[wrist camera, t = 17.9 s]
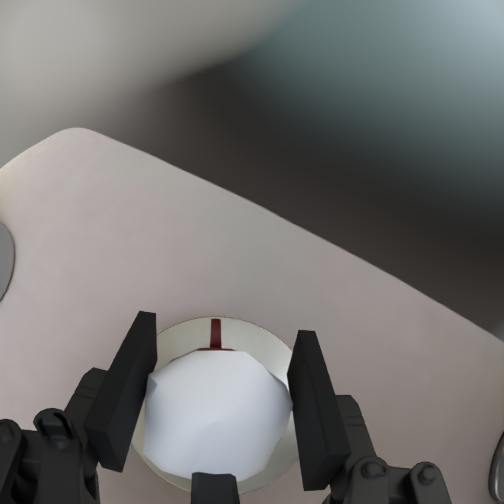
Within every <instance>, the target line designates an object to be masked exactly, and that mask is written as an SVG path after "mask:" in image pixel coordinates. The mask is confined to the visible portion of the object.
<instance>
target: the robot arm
mask: <svg viewBox="0 0 504 504" xmlns="http://www.w3.org/2000/svg"><path fill="white" fill-rule="evenodd" d="M157 360H158V356H157V334H156V313H150V312H144V311H139V313H138V315H137V317H136V318H135V320H134V322H133V324H132V326H131V328H130V330H129V331H128V333H127V335H126V337H125V339H124V341H123V343H122V345H121V347H120V349H119V351H118V352H117V354H116V356H115V358H114V360H113V362H112V364H111V366H110V368H109V370H108V371H106V370H102V369H98V368H94V367H93V368H92V369H91V370H89V371H88V372H87V373H85V374H84V375H83V377H82V379H81V381H80V383H79V386H77V388H76V390H75V392H74V394H73V395H72V397H71V399H70V401H69V403H68V405H67V407H66V408H65V410H64V411H62V410H60V409H56V408H48V409H45V410H42V411H40V412H39V413H38V414H37V415H36V416H35V418H34V421H33V423H34V425H35V427H36V429H37V430H38V431H32V430H22V429H21V428H20V427H19V425H18V424H17V423H16V422H14V421H13V420H9V419H2V420H0V504H100V495H99V484H98V475H97V471H96V467H97V464H98V461H99V462H100V464H101V466H102V467H103V468H106V469H109V470H113V471H117V472H120V473H122V471H123V467H124V464H125V460H126V457H127V454H128V450H129V447H130V443H131V440H132V437H133V434H134V430H135V427H136V424H137V421H138V417H139V414H140V411H141V408H142V405H143V402H144V399H145V396H146V388H147V380H148V374H150V373H152V372H154V369H155V366H156V363H157ZM287 380H288V387H289V393H290V397H291V399H292V402H293V409H292V413H293V419H294V426H295V433H296V439H297V446H298V453H299V460H300V467H301V474H302V481H303V488H304V491H314V490H324V489H325V488H326V487H327V486H328V485H329V484H330V489H331V493H330V494H329V495H328V496H327V497H326V498H325V500H324V501H323V502H322V504H452V503H451V500H450V497H449V493H448V490H447V487H446V484H445V481H444V479H443V476H442V473H441V471H440V469H439V468H438V467H437V466H436V465H435V464H433V463H430V462H420V463H417V464H416V465H415V466H414V467H413V468H412V469H409V468H399V467H392V466H389V465H387V463H386V462H385V461H384V460H383V459H381V458H380V457H377V455H376V453H375V451H374V448H373V445H372V442H371V439H370V436H369V433H368V430H367V427H366V425H365V424H364V423H365V422H364V419H363V416H362V413H361V411H360V408H359V405H358V403H357V402H356V401H355V400H354V399H353V398H352V397H351V395H335V393H334V390H333V386H332V383H331V380H330V377H329V374H328V370H327V367H326V364H325V361H324V358H323V355H322V351H321V348H320V345H319V342H318V339H317V336H316V333H315V331H307V330H298V334H297V338H296V342H295V345H294V349H293V353H292V356H291V360H290V363H289V367H288V370H287ZM490 493H491V496H492V497H493V499H494V500H496V501H498V502H503V503H504V434H503V436H502V438H501V440H500V442H499V445H498V447H497V450H496V453H495V456H494V459H493V463H492V467H491V473H490Z"/></svg>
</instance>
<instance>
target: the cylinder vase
mask: <svg viewBox="0 0 504 504" xmlns="http://www.w3.org/2000/svg"><path fill="white" fill-rule="evenodd" d="M13 263H14V246H13V241H12V237H11V235H10V232H9V231H8V229H7V228H6V226H5V225H4V224H3V223H2V222H1V221H0V299H1V298H2V296H3V294H4V293H5V291H6V288H7V286H8V284H9V281H10V278H11V274H12V270H13Z"/></svg>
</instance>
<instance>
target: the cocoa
mask: <svg viewBox="0 0 504 504" xmlns="http://www.w3.org/2000/svg"><path fill="white" fill-rule="evenodd" d="M292 409H293V402H292V399H291V397H290V394H289V392H288V389H287V387H286V385H285V384H284V383H283V382H282V381H281V380H279V379H278V378H277V377H275V376H274V375H273V374H272V373H270V372H269V371H268V370H267V369H266V368H265V367H264V366H263V365H262V364H261V363H260V362H259V361H257V360H256V359H254V358H253V357H252V356H250V355H249V354H248V353H247V352H245V351H235V350H233V349H228V348H222V343H221V319H217V318H213V319H211V337H210V348H199V349H196V350H194V351H192V352H189V353H187V354H185V355H182V356H180V357H177V358H175V359H173V360H171V361H170V362H169V363H168V365H166V366H164V367H162V368H160V369H158V370H156V371H154V372H152V373H150V374H148V380H147V388H146V396H145V417H144V441H143V454H144V455H145V456H146V457H147V458H148V459H149V460H151V461H152V462H153V463H154V464H155V465H156V466H157V467H158V468H159V469H160V470H161V471H164V472H167V473H170V474H174V475H177V476H181V477H184V478H188V479H191V480H192V481H191V504H240V500H239V494H238V487H237V482H239V481H243V480H245V479H247V478H249V477H251V476H253V475H255V474H257V473H259V472H261V471H263V470H264V469H265V467H266V465H267V463H268V461H269V459H270V456H271V454H272V452H273V450H274V448H275V446H276V445H277V444H278V442H279V441H280V439H281V437H282V435H283V434H284V432H285V431H286V429H287V427H288V423H289V420H290V416H291V412H292Z"/></svg>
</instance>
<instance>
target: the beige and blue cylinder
mask: <svg viewBox="0 0 504 504" xmlns="http://www.w3.org/2000/svg"><path fill="white" fill-rule="evenodd" d="M213 318H217V319H221V343H222V348H228V349H233V350H235V351H245V352H247V353H248V354H249V355H250V356H252V357H253V358H254V359H256V360H257V361H259V362H260V363H261V364H262V365H263V366H264V367H265V368H266V369H267V370H268V371H269V372H270V373H272V374H273V375H274V376H275V377H277V378H278V379H279V380H281V381H282V382H283V383H284V384H285V385H286V387H287V389H288V392H289V387H288V380H287V370H288V367H289V363H290V360H291V356H292V353H293V352H292V350H291V349H290V348H289V347H288V346H287V345H286V344H285V343H284V342H282V341H281V340H280V339H279V338H278V337H276V336H275V335H273V334H272V333H270V332H269V331H267V330H266V329H263V328H261V327H259V326H257V325H255V324H252V323H250V322H247V321H244V320H240V319H235V318H229V317H202V318H195V319H191V320H187V321H184V322H181V323H178V324H176V325H174V326H171V327H169V328H168V329H166V330H164V331H163V332H161V333H159V334H158V335H157V356H158V360H157V363H156V366H155V369H154V371H156V370H158V369H160V368H162V367H164V366H166V365H168V363H169V362H170V361H171V360H173V359H175V358H177V357H180V356H182V355H185V354H187V353H189V352H192V351H194V350H196V349H199V348H210V337H211V319H213ZM289 394H290V393H289ZM144 417H145V399H144V402H143V405H142V408H141V411H140V414H139V417H138V421H137V424H136V427H135V430H134V434H133V437H132V440H131V443H132V445H133V447H134V449H135V450H136V452H137V453H138V454H139V456H140V457H141V459H142V460H143V461H144V462H145V463H146V464H147V465H148V466H149V468H150V469H152V470H153V471H154V472H155V473H156V474H157V475H159V476H160V477H162V478H163V479H165V480H166V481H168V482H169V483H171V484H173V485H175V486H177V487H179V488H181V489H184V490H187V491H190V492H191V481H192V480H191V479H188V478H184V477H181V476H177V475H174V474H170V473H167V472H164V471H161V470H160V469H159V468H158V467H157V466H156V465H155V464H154V463H153V462H152V461H151V460H149V459H148V458H147V457H146V456H145V455H144V454H143V441H144ZM298 458H299V453H298V446H297V439H296V433H295V426H294V419H293V413H292V412H291V416H290V420H289V423H288V427H287V429H286V431H285V432H284V434H283V435H282V437H281V439H280V441H279V442H278V444H277V445H276V446H275V448H274V450H273V452H272V454H271V456H270V459H269V461H268V463H267V465H266V467H265V469H264V470H263V471H261V472H259V473H257V474H255V475H253V476H251V477H249V478H247V479H245V480H243V481H239V482H237V487H238V494H239V495H240V494H245V493H248V492H252V491H255V490H257V489H260V488H262V487H264V486H266V485H268V484H270V483H271V482H273V481H275V480H276V479H278V478H279V477H280V476H282V475H283V474H284V473H285V472H286V471H287V470H288V469H289V468H290V467H291V466H292V465H293V464H294V463H295V462H296V460H297V459H298Z"/></svg>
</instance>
